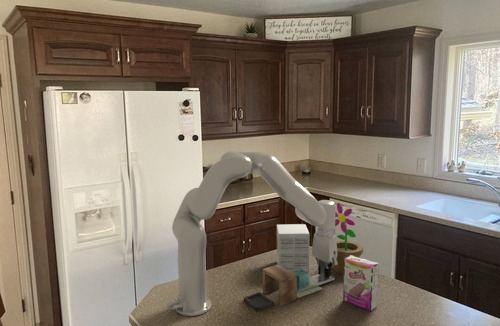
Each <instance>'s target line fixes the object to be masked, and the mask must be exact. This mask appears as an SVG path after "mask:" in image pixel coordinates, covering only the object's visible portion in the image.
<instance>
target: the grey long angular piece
mask: <svg viewBox="0 0 500 326" xmlns="http://www.w3.org/2000/svg"><path fill="white" fill-rule="evenodd" d="M328 264H329V263H328ZM324 268H325V262H324V261H322V260H320V275H319V274H318V273H317V274H315V275H312V276H310V272H309V273H308V272H306V271H304V270H302V269H298V270H295V271H292V273H294V274H296V275H297V292H301V291H304V290H307V289H310V288H313V287H315V286H320V285H324V284H326V283H329V282H332V281H335V276H332V275H331V276H330V277H327V278H325V277H324Z"/></svg>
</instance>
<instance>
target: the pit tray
mask: <svg viewBox="0 0 500 326" xmlns="http://www.w3.org/2000/svg"><path fill="white" fill-rule="evenodd" d="M243 302H244V303H245V304H247V305H248V306H249V307H251V308H252V309H254V311H256V312H261V311H264V310H266V309H269V308H272V307H274V306H275V302H274V301H273V300H271V298H269V297H268V296H266V295H265V294H264V293H261V292H260V291H258V292H256V293H253V294H250V295H247V296H243Z"/></svg>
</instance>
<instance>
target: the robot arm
mask: <svg viewBox="0 0 500 326" xmlns="http://www.w3.org/2000/svg"><path fill="white" fill-rule="evenodd" d="M250 174H251V175H252V174H256V175H258V176H260V178H262V180H264V181H265V183H267V184H268V186H269V187H271V190H273V191H274V192H275V194H277V196H279V197H280V198H281V199H283V200H284V201H285V202H287V203H289V204H290V205H292V206H293V207H294V208H295V209H294V211H295V215H296V216H297V217H298V218H299V219H300V220H303V221H304V222H306V223H308V224H310V225H312V226H314V227H315V233H314V234H313V239H312V244H311V245H312V246H311V248H312V249H311V250H312V251H311V254H312V256H313V257H314V258H315V260H316V263H317V265H318V269H317V270H318V271H317V274H319V275H320V260H322V261H324V262H325V268H324V277H325V278H327V277H330V276H332V268H333V266H334V265H337V264H338V263H337V260H336V259H337V242H336V241H337V235H336V226H335V219H336V217H335V212H336V209H337V205H336V202H334V201H332V200H330V199H329V200H328V199H321V200H317V198H315V197H314V195H312V194H311V193H310V191H308V190H307V189H306V188H305V187H303V186H302V184H300V183H299V182H298V181H297V180H296V179H295V178H294V176H292V174H290V172H289V171H288V170H287V169H286V168H285V166H283V164H282V163H281V162H280V161H279V160H278V159H277V158H276V156H274V155H272V154H269V153H265V152H260V151H236V150H230V151H227V152H225V153H223V155H221V157H220V159H219V161H217V162H215V163H214V164H213V165H211V167H209V169H208V170H207V172H206V173H205V175H204V177H203V179H202V181H201V182H200V185H199V186H198V187H194V188H192V189H190V190H189V191H187V192H186V194H185V196H184V198H183V199H182V201H181V202H180V206H179V207H178V210H177V213H175V214H176V215H175V217H174V219H173V222H172V226H171V227H172V228H171V229H172V233H173V235H174V237H175V239H176V241H177V247H178V248H177V271H178V272H177V273H178V293H179V294H178V295H176V298H175V299H174V300H173V301H169V302H166V303H165V306H166V309H170V308H172V310H175V311H176V312H177V313H178V314H180V315H181V316H186V317H187V316H188V317H194V316H195V317H196V316H199V315H200V316H201V315H202V314H205V313H206V312H209V310H210V309H211V308H212V301H211V300H210V298H208V297H207V269H206V267H207V266H206V248H207V233H206V231H205V229H204V227H203V225H202V224H201V222H202V221H205V220H207V221H208V220H209V219H211V218H212V217H213V216H214V214H215V212H216V210H217V208H218V206H219V204H220V201H221V199H222V197H223V195H224V193H225V191H226V188H227V187H228V186H229V184H231V183H232V182H233V181H234V180H238V179H242V178H244V177H246V176H248V175H250ZM328 263H329V264H328Z"/></svg>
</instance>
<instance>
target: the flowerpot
mask: <svg viewBox="0 0 500 326" xmlns="http://www.w3.org/2000/svg"><path fill="white" fill-rule="evenodd" d="M336 209H337V211H335V227H337V226H338V225H340V230H341V231H342V232H343V233H344V234H338V235H336V238H338V239H340V240H336V242H337V259H336V260H337V263H338V264H337V265H334V266H332V268H333V271H334V272H336V273H338V274H342V275H344V259H345V258H347V257H348V256H350V255H352V256H355V257H359V258H361V256H362V255H363V253H364V247H363V246H362V244H360V243H357V242H355V241H349V240H348V236H349V237H350V238H356V237H357V235H356V233H355V231H354V230H352V229H351V228H349V229H348V226H347V225H349V226H355V225H356V223H355V222H354V220H353V219H351V218H349V216H350V215H351V214H352V212H353V209H352V208H347V209H346V210H343V205H342V204H341V203H340V202H337V204H336ZM343 211H344V212H343ZM347 217H348V218H347ZM336 218H337V219H336Z"/></svg>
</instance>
